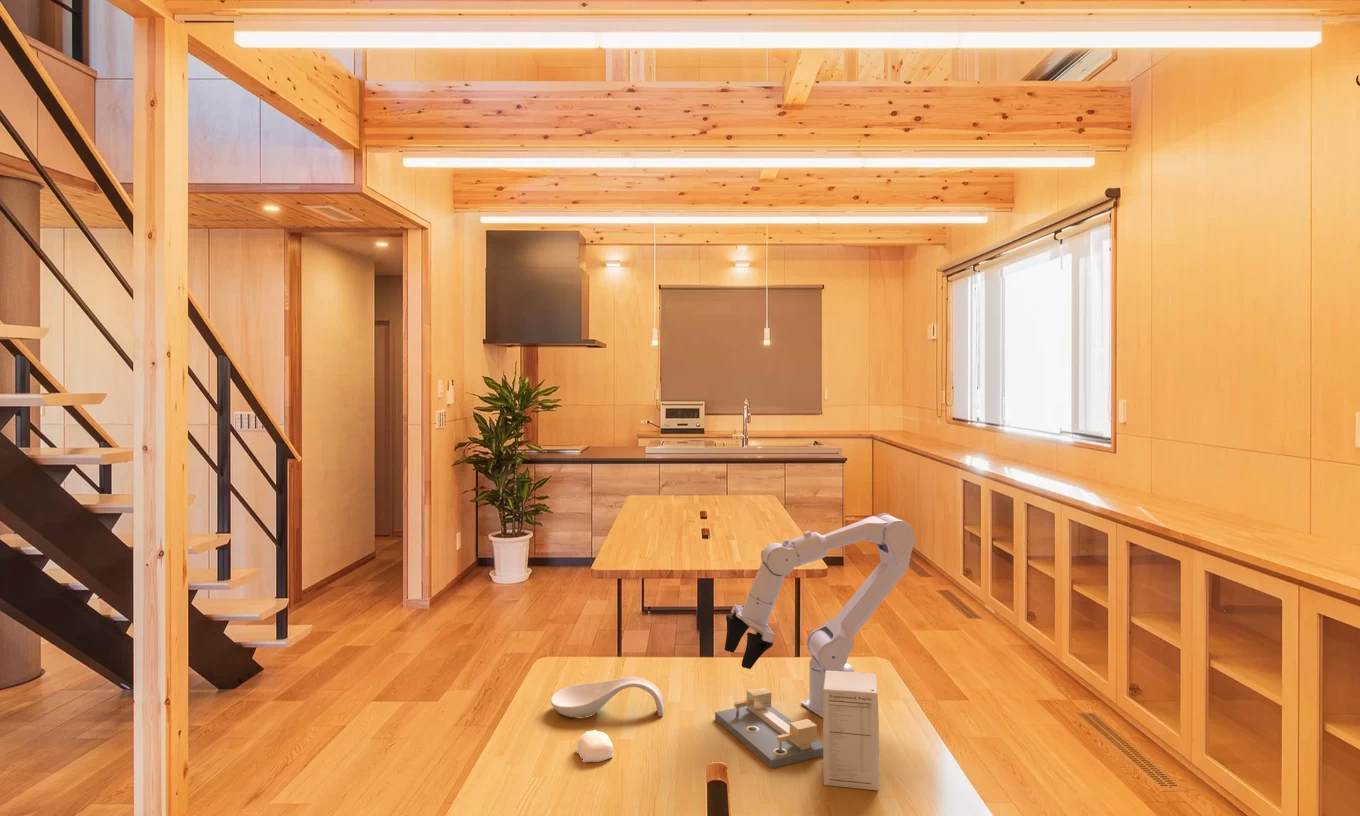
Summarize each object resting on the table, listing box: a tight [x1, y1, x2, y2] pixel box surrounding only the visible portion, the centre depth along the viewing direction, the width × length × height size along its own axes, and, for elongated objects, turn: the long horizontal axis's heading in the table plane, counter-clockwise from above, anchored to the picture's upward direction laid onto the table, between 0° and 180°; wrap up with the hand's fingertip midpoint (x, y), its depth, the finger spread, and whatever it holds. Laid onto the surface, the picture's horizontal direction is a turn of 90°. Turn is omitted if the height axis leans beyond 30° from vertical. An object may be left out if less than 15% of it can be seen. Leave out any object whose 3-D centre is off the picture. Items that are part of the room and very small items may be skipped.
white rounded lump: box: [574, 729, 614, 763], centre depth 141 cm, size 8×7×4 cm
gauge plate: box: [714, 705, 823, 769], centre depth 148 cm, size 12×22×6 cm, turn 25°
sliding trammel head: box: [734, 687, 772, 717], centre depth 154 cm, size 8×3×4 cm, turn 115°
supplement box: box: [822, 670, 880, 791], centre depth 133 cm, size 10×9×17 cm
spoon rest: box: [550, 676, 665, 719], centre depth 159 cm, size 24×12×7 cm, turn 90°
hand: (737, 659), depth 159 cm, fingers open, 7 cm apart
